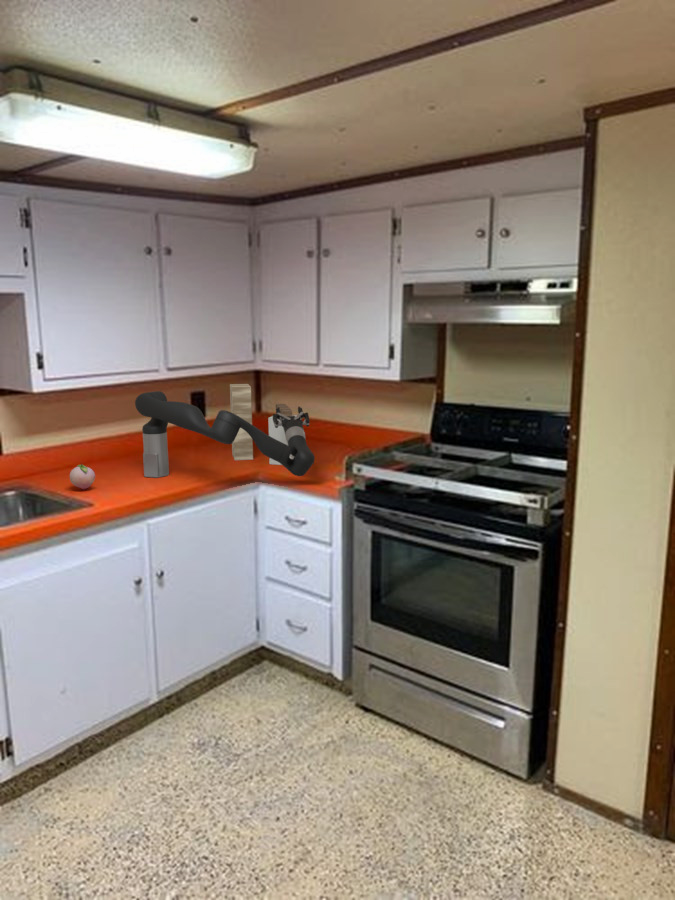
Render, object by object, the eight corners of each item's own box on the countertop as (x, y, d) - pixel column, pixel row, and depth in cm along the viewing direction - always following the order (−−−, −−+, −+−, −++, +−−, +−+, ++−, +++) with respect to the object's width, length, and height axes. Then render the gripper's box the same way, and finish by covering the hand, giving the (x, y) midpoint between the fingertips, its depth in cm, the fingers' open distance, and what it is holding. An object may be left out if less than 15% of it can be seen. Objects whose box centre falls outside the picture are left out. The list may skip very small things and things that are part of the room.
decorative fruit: (66, 489, 252) (64, 463, 250) (87, 485, 258) (85, 459, 256) (77, 494, 246) (75, 467, 244) (99, 490, 252) (97, 463, 250)
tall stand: (253, 459, 302) (250, 386, 295) (234, 460, 300) (232, 387, 293) (250, 453, 313) (247, 383, 307) (232, 454, 311) (229, 384, 305)
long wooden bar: (292, 420, 282) (292, 410, 281) (282, 420, 281) (282, 410, 280) (284, 412, 302) (284, 403, 301) (275, 413, 301) (275, 403, 300)
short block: (291, 465, 290) (290, 418, 286) (269, 464, 292) (268, 417, 288) (299, 460, 299) (298, 415, 295) (278, 459, 302) (277, 414, 298)
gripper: (276, 442, 268) (270, 416, 280) (311, 440, 271) (305, 415, 283) (277, 427, 263) (271, 401, 275) (313, 426, 266) (306, 400, 278)
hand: (288, 408), depth 279 cm, fingers open, 8 cm apart
